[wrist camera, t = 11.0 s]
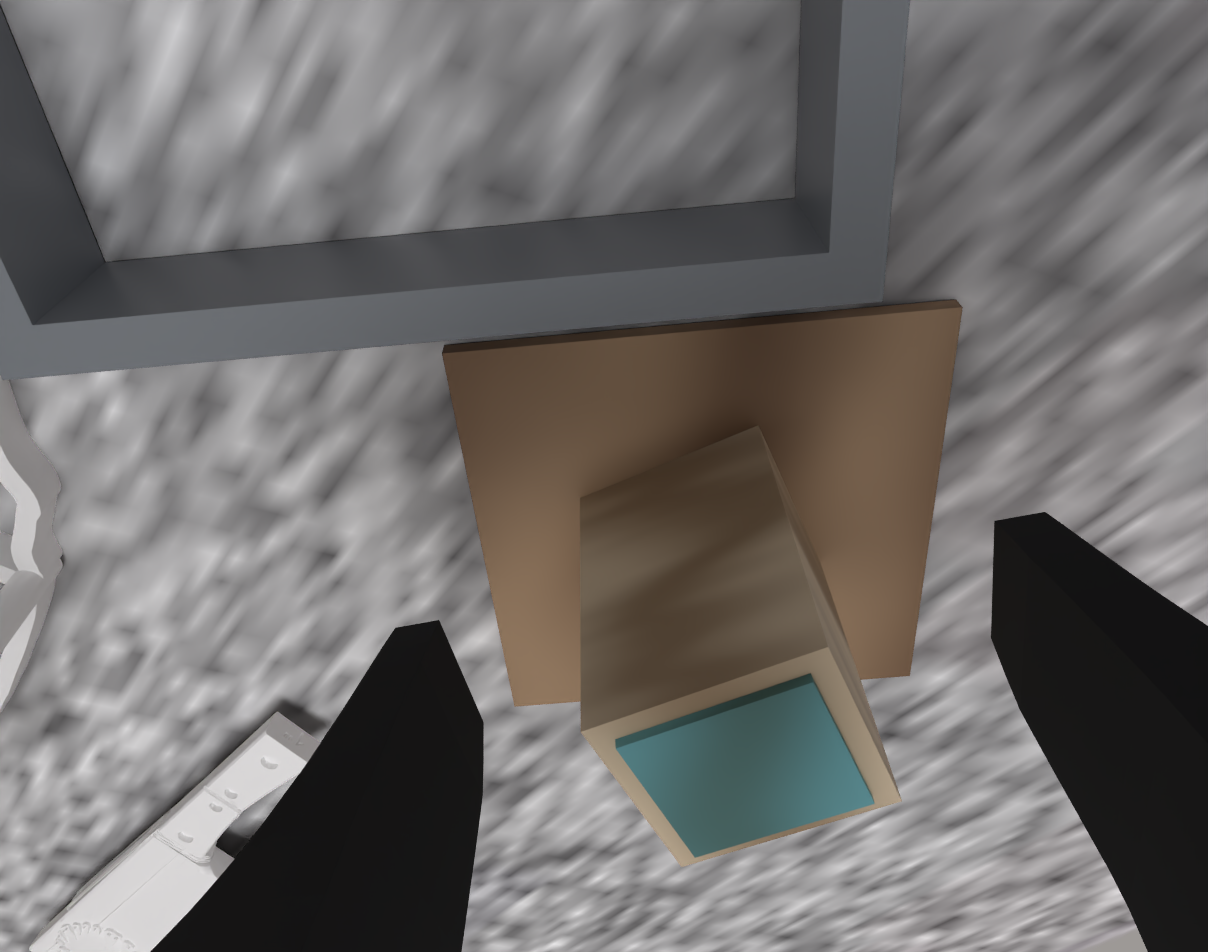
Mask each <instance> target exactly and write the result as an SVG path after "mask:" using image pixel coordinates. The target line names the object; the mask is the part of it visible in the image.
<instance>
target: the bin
mask: <svg viewBox="0 0 1208 952" xmlns="http://www.w3.org/2000/svg"><path fill="white" fill-rule="evenodd" d="M909 6H910V0H801V21H800V53H799V86H798V118H797V151H796V183H795V198H794V199H783V200H772V201H762V202H751V203H740V204H729V205H718V206H708V207H697V208H686V209H675V210H665V211H654V212H643V213H632V214H622V215H611V216H600V217H589V218H579V219H568V220H557V221H546V222H536V223H525V224H514V225H503V226H492V227H482V228H471V229H460V230H449V231H439V232H428V233H417V234H406V235H396V236H385V237H374V238H363V239H353V240H342V241H331V242H320V243H309V244H299V245H288V246H277V247H266V248H256V249H245V250H234V251H223V252H213V253H202V254H191V255H180V256H170V257H159V258H148V259H137V260H126V261H116V262H104V259H103V257H102V254H101V252H100V249H99V247H98V245H97V242H96V240H95V237H94V235H93V232H92V230H91V228H90V225H89V223H88V220H87V218H86V215H85V213H84V210H83V208H82V206H81V203H80V201H79V198H78V196H77V193H76V191H75V188H74V186H73V184H72V181H71V179H70V176H69V174H68V171H67V169H66V166H65V164H64V162H63V159H62V157H61V154H60V152H59V149H58V147H57V144H56V142H55V140H54V137H53V135H52V132H51V130H50V127H49V125H48V122H47V120H46V118H45V115H44V113H43V110H42V108H41V105H40V103H39V100H38V98H37V96H36V93H35V91H34V88H33V86H32V83H31V81H30V78H29V76H28V74H27V71H26V69H25V66H24V64H23V61H22V59H21V56H20V54H19V52H18V49H17V47H16V44H15V42H14V39H13V37H12V34H11V32H10V30H9V27H8V25H7V22H6V20H5V17H4V15H3V12H2V10H1V8H0V376H1V378H2V380H12V379H23V378H34V377H45V376H57V375H68V374H79V373H90V372H101V371H112V370H124V369H135V368H146V367H157V366H168V365H180V364H191V363H202V362H213V361H224V360H235V359H247V358H258V357H269V356H280V355H291V354H303V353H314V352H325V351H336V350H347V349H358V348H370V347H381V346H392V345H403V344H414V343H425V342H437V341H448V340H459V339H470V338H481V337H493V336H504V335H515V334H526V333H537V332H548V331H560V330H571V329H582V328H593V327H604V326H616V325H627V324H638V323H649V322H660V321H671V320H683V319H694V318H705V317H716V316H727V315H739V314H750V313H761V312H772V311H783V310H794V309H806V308H817V307H828V306H839V305H850V304H861V303H873V302H883V293H884V282H885V271H886V260H887V249H888V238H889V227H890V216H891V205H892V194H893V183H894V171H895V160H896V149H897V138H898V127H899V116H900V105H901V94H902V83H903V72H904V61H905V50H906V39H907V28H908V17H909Z"/></svg>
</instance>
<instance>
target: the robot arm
mask: <svg viewBox="0 0 1208 952" xmlns="http://www.w3.org/2000/svg"><path fill="white" fill-rule="evenodd" d="M991 639H992V642H993V644H994V647H995V649H996V652H997V654H998V657H999V659H1000V662H1001V665H1002V667H1003V670H1004V672H1005V675H1006V677H1007V680H1008V682H1009V685H1010V687H1011V689H1012V692H1013V694H1014V697H1015V699H1016V701H1017V704H1018V706H1019V709H1020V711H1021V713H1022V714H1023V716H1024V718H1025V720H1026V722H1027V724H1028V726H1029V727H1030V729H1031V731H1032V733H1033V735H1034V736H1035V738H1036V740H1037V742H1038V744H1039V745H1040V747H1041V749H1042V751H1043V753H1044V755H1045V756H1046V758H1047V760H1048V762H1049V764H1050V765H1051V767H1052V769H1053V771H1054V773H1055V774H1056V776H1057V778H1058V780H1059V781H1060V783H1061V785H1062V787H1063V789H1064V790H1065V792H1066V794H1067V796H1068V797H1069V799H1070V801H1071V803H1072V805H1073V806H1074V808H1075V810H1076V812H1077V813H1078V815H1079V817H1080V819H1081V821H1082V822H1083V824H1084V826H1085V828H1086V830H1087V831H1088V833H1089V835H1090V837H1091V838H1092V840H1093V842H1094V844H1095V846H1096V847H1097V849H1098V851H1099V853H1100V854H1101V856H1102V858H1103V860H1104V862H1105V863H1106V865H1107V867H1108V869H1109V871H1110V872H1111V874H1112V876H1113V878H1114V880H1115V882H1116V884H1117V886H1118V888H1119V890H1120V892H1121V894H1122V896H1123V898H1124V900H1125V902H1126V904H1127V906H1128V908H1129V910H1130V912H1131V915H1132V917H1133V919H1134V921H1135V924H1136V926H1137V928H1138V930H1139V933H1140V935H1141V937H1142V939H1143V942H1144V944H1145V946H1146V949H1147V951H1148V952H1208V626H1207V625H1206V624H1204V623H1203V622H1201V621H1200V620H1198V619H1197V618H1195V617H1194V616H1192V615H1191V614H1189V613H1188V612H1186V611H1185V610H1183V609H1182V608H1180V607H1179V606H1177V605H1176V604H1174V603H1173V602H1171V601H1170V600H1168V599H1167V598H1165V597H1164V596H1162V595H1161V594H1159V593H1158V592H1156V591H1155V590H1154V589H1152V588H1151V587H1149V586H1148V585H1146V584H1145V583H1143V582H1142V581H1141V580H1139V579H1138V578H1136V577H1135V576H1134V575H1132V574H1131V573H1129V572H1128V571H1127V570H1125V569H1124V568H1122V567H1121V566H1120V565H1118V564H1117V563H1115V562H1114V561H1113V560H1111V559H1110V558H1108V557H1107V556H1106V555H1104V554H1103V553H1101V552H1100V551H1099V550H1097V549H1096V548H1095V547H1093V546H1092V545H1090V544H1089V543H1088V542H1086V541H1085V540H1084V539H1082V538H1081V537H1079V536H1078V535H1077V534H1075V533H1074V532H1072V531H1071V530H1070V529H1068V528H1067V527H1065V526H1064V525H1063V524H1061V523H1060V522H1058V521H1057V520H1056V519H1054V518H1053V517H1051V516H1050V515H1049V514H1047V513H1046V512H1042V513H1037V514H1031V515H1025V516H1020V517H1014V518H1009V519H1003V520H997V521H995V523H994V557H993V591H992V626H991ZM482 796H483V720H482V718H481V715H480V713H479V711H478V709H477V706H476V704H475V702H474V699H473V697H472V695H471V692H470V690H469V688H468V686H467V683H466V681H465V679H464V676H463V674H462V672H461V669H460V667H459V665H458V663H457V660H456V658H455V656H454V653H453V651H452V649H451V646H450V644H449V642H448V640H447V637H446V635H445V633H444V630H443V628H442V626H441V623H440V621H439V620H437V621H431V622H426V623H420V624H415V625H409V626H403V627H398V628H395V629H394V631H393V632H392V634H391V635H390V637H389V638H388V640H387V641H386V643H385V644H384V646H383V647H382V649H381V650H380V652H379V653H378V655H377V656H376V658H375V660H374V661H373V663H372V664H371V666H370V667H369V669H368V671H367V672H366V674H365V675H364V677H363V679H362V680H361V682H360V683H359V685H358V686H357V688H356V690H355V691H354V693H353V694H352V696H351V697H350V699H349V700H348V702H347V704H346V705H345V707H344V708H343V710H342V711H341V713H340V714H339V716H338V717H337V719H336V720H335V722H334V723H333V725H332V726H331V728H330V729H329V731H328V732H327V734H326V735H325V737H324V738H323V740H322V741H321V743H320V744H319V746H318V747H317V749H316V750H315V752H314V753H313V755H312V756H311V758H310V759H309V761H308V762H307V764H306V765H305V766H304V768H303V769H302V771H301V772H300V774H299V775H298V776H297V778H296V779H295V780H294V782H293V783H292V785H291V786H290V787H289V789H288V790H287V791H286V793H285V794H284V795H283V797H282V798H281V800H280V801H279V802H278V804H277V805H276V806H275V808H274V809H273V810H272V812H271V813H270V815H269V816H268V817H267V819H266V820H265V821H264V823H263V824H262V825H261V827H260V828H259V829H258V831H257V832H256V833H255V834H254V836H253V837H252V838H251V839H250V841H249V842H248V843H247V844H246V846H245V847H244V848H243V849H242V851H241V852H240V853H239V854H238V856H237V857H236V858H235V859H234V860H233V862H232V863H231V864H230V865H229V866H228V867H227V869H226V870H225V871H224V872H223V873H222V874H221V876H220V877H219V878H218V879H217V880H216V881H215V882H214V884H213V885H212V886H211V887H210V888H209V889H208V891H207V892H206V893H205V894H204V895H203V896H202V898H201V899H200V900H199V901H198V902H197V903H196V904H195V905H194V906H193V908H192V909H191V910H190V911H189V912H188V913H187V914H186V915H185V916H184V917H183V918H182V919H181V920H180V921H179V922H178V923H177V924H176V925H175V926H174V928H173V929H172V930H171V931H170V932H169V933H168V934H167V935H166V936H165V937H164V938H163V939H162V940H161V941H160V942H159V943H158V944H157V945H156V946H155V947H154V948H153V949H152V950H151V951H150V952H461V951H462V944H463V936H464V929H465V922H466V915H467V908H468V900H469V893H470V886H471V879H472V872H473V865H474V857H475V850H476V843H477V835H478V827H479V820H480V812H481V804H482Z"/></svg>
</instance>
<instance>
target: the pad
mask: <svg viewBox="0 0 1208 952" xmlns="http://www.w3.org/2000/svg"><path fill="white" fill-rule="evenodd" d="M962 308H963V307H962V306H961V305H960V304H959V302H958V301H957V300H946V301H935V302H923V303H912V304H901V305H890V306H879V307H867V308H856V309H845V310H834V311H823V312H812V313H800V314H789V315H778V316H767V317H756V318H744V319H733V320H722V321H711V322H700V323H688V324H677V325H666V326H655V327H644V328H632V329H621V330H610V331H599V332H588V333H576V334H565V335H554V336H543V337H532V338H520V339H509V340H498V341H487V342H476V343H464V344H453V345H444V348H443V352H442V356H443V360H444V365H445V370H446V375H447V380H448V385H449V390H450V395H451V399H452V404H453V409H454V414H455V419H456V424H457V429H458V433H459V438H460V443H461V448H462V453H463V458H464V463H465V467H466V472H467V477H468V482H469V487H470V492H471V497H472V502H473V506H474V511H475V516H476V521H477V526H478V531H479V536H480V540H481V545H482V550H483V555H484V560H485V565H486V570H487V574H488V579H489V584H490V589H491V594H492V599H493V604H494V609H495V613H496V618H497V623H498V628H499V633H500V638H501V643H502V647H503V652H504V657H505V662H506V667H507V672H508V677H509V681H510V686H511V691H512V696H513V701H514V706H528V705H540V704H553V703H566V702H579V701H581V658H580V498H581V497H584V496H586V495H589V494H591V493H594V492H596V491H599V490H601V489H603V488H606V487H608V486H611V485H613V484H616V483H618V482H621V481H623V480H625V479H628V478H630V477H633V476H635V475H638V474H640V473H643V472H645V471H648V470H650V469H652V468H655V467H657V466H660V465H662V464H665V463H667V462H670V461H672V460H674V459H677V458H679V457H682V456H684V455H687V454H689V453H692V452H694V451H697V450H699V449H701V448H704V447H706V446H709V445H711V444H714V443H716V442H719V441H721V440H723V439H726V438H728V437H731V436H733V435H736V434H738V433H741V432H743V431H746V430H748V429H750V428H753V427H755V426H759V428H760V430H761V432H762V435H763V437H764V439H765V441H766V443H767V446H768V448H769V450H770V452H771V455H772V457H773V459H774V461H775V463H776V466H777V468H778V470H779V472H780V474H781V477H782V479H783V481H784V483H785V486H786V488H787V490H788V492H789V494H790V497H791V499H792V501H793V503H794V505H795V508H796V510H797V512H798V514H799V517H800V519H801V521H802V523H803V525H804V528H805V530H806V532H807V534H808V536H809V539H810V541H811V543H812V545H813V548H814V550H815V552H816V554H817V556H818V559H819V561H820V563H821V566H822V569H823V572H824V575H825V578H826V581H827V584H828V586H829V589H830V592H831V595H832V598H833V601H834V604H835V607H836V610H837V613H838V616H839V619H840V622H841V624H842V627H843V630H844V633H845V636H846V639H847V642H848V645H849V648H850V651H851V654H852V657H853V660H854V663H855V665H856V668H857V671H858V674H859V677H860V680H862V679H875V678H887V677H900V676H910V671H911V664H912V657H913V650H914V643H915V636H916V629H917V622H918V615H919V608H920V601H921V594H922V587H923V580H924V573H925V566H926V559H927V552H928V545H929V538H930V531H931V524H932V517H933V510H934V503H935V496H936V489H937V482H938V475H939V468H940V461H941V454H942V447H943V440H944V433H945V426H946V419H947V412H948V405H949V398H950V391H951V384H952V377H953V371H954V364H955V357H956V350H957V343H958V336H959V329H960V322H961V315H962Z"/></svg>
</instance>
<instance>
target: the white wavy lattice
mask: <svg viewBox="0 0 1208 952" xmlns="http://www.w3.org/2000/svg"><path fill="white" fill-rule="evenodd" d="M0 482H1V483H2V485H3V486H4V487H5V488H6V489H7V490H8V492H9V493H10V494H11V495H12V496H13V498H14V499H15V501H16V502H17V507H16V514H15V526H14V531H13V535H10V534H7V533H4V532H2V531H0V582H1V583H3V584H5V585H4V586H3V588H2V589H1V590H0V654H1V653H2V651H3V650H4V651H3V654H2V656H1V659H0V713H1V712H2V710H3V709H4V707H5V706H6V704H7V703H8V702H9V700H10V699H11V697H12V695H13V693H14V691H15V689H16V687H17V685H18V683H19V681H20V679H21V677H22V674H23V672H24V671H25V669H26V668H27V665H28V663H29V660H30V658H31V655H32V652H33V649H34V647H35V644H36V642H37V639H38V637H39V635H40V632H41V630H42V627H43V624H44V622H45V619H46V616H47V613H48V610H49V606H50V603H51V600H52V597H53V594H54V589H55V583H56V576H57V575H58V574H59V572H60V571H61V569H62V567H63V564H62V561H61V559H60V557H61V556H62V554H63V550H62V548H61V547H60V546H59V544H58V541H57V539H56V537H55V535H54V533H53V529H52V524H53V519H54V515H55V510H56V502H57V495H58V494H59V492H60V491H61V483H60V479H59V476H58V474H57V472H56V470H55V468H54V467H53V465H52V464H51V463H50V461H49V460H48V459H47V458H46V457H45V455H44V454H43V453H42V452H41V450H40V449H39V448H38V446H37V445H36V444H35V442H34V441H33V439H32V438H31V436H30V434H29V432H28V430H27V428H26V426H25V424H24V421H23V419H22V417H21V414H20V412H19V409H18V406H17V403H16V400H15V397H14V394H13V391H12V388H11V385H10V382H9V380H2V378H1V376H0Z"/></svg>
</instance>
